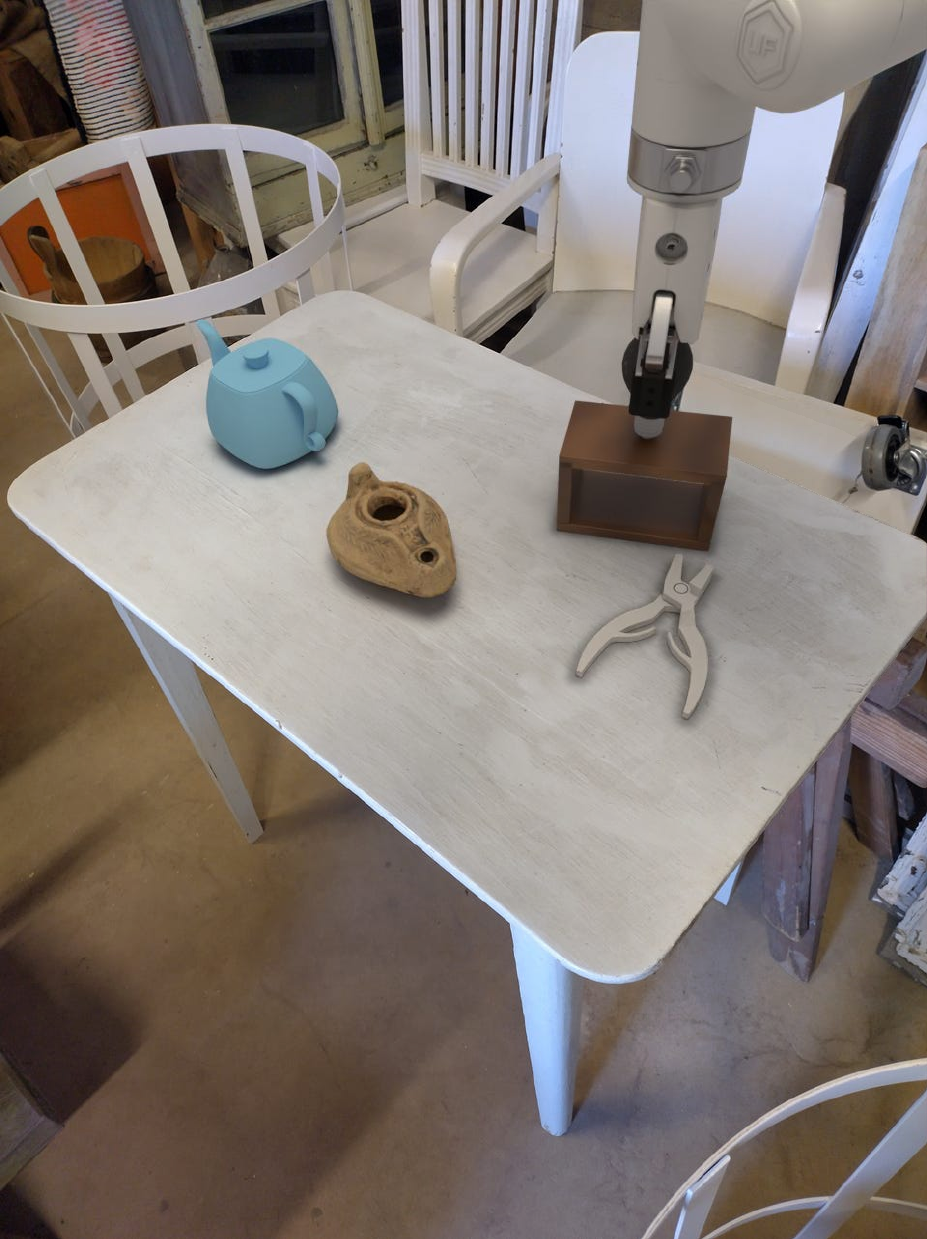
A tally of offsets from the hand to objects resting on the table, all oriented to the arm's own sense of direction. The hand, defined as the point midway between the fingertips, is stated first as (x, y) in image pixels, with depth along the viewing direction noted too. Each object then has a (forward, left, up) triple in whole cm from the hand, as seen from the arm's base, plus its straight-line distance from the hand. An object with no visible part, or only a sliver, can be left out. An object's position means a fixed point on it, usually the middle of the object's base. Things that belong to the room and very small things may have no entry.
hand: (653, 386), depth 67 cm
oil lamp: (+20, +11, -14) cm, 27 cm away
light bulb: (0, 0, -5) cm, 5 cm away
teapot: (+40, -5, -14) cm, 43 cm away
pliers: (-4, +14, -14) cm, 20 cm away
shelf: (0, 0, -14) cm, 14 cm away
